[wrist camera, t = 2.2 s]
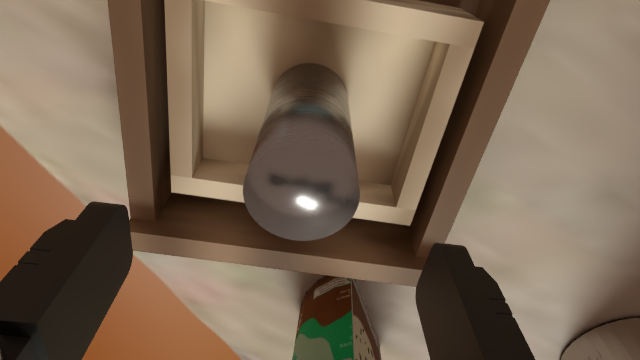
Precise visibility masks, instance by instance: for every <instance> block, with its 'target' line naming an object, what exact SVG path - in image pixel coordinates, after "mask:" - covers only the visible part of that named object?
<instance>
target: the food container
mask: <svg viewBox="0 0 640 360" xmlns="http://www.w3.org/2000/svg"><path fill="white" fill-rule="evenodd" d="M292 360H381V354H380V347H379V345H378V342H377V339H376V336H375V334H374V331H373V328H372V325H371V323H370V320H369V317H368V314H367V312H366V309H365V306H364V303H363V301H362V298H361V295H360V292H359V290H358V287H357V284H356V281H355V279H351V278H344V277H336V276H328V275H327V276H325V277H323V278H322V279H320V280H318V281H317V282H316V283H315V284H314V285H313V286H312V287H311V288H310V289H309V290H308V291H307V292H306V294H305V297H304V299H303V302H302V304H301V308H300V314H299V321H298V327H297V333H296V340H295V346H294V352H293V359H292Z"/></svg>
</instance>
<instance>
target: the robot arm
mask: <svg viewBox="0 0 640 360" xmlns="http://www.w3.org/2000/svg"><path fill="white" fill-rule="evenodd" d="M132 257H133V248H132V240H131V232H130V224H129V216H128V210H127V208H126V206H125V205H119V204H111V203H102V202H91V203H89V204H88V205H87V206H86V208H85V209H84V210H83V211H82V213H81V214H80V215H79V216H78V217H77V219H76V220H68V219H65V220H64V221H62V222H60V223H59V224H57V225H55V226H54V227H52V228H50V229H49V230H47V231H45V232H44V233H43V234H42V236H41V237H40V238H39V239H38V240H37V241H36V242H35V243H34V244H33V246H32V247H31V248H30V251H29V252H26V254H25V255H24V256H23V257H22V258H21V259H20V260H19V261H18V265H15V266H14V267H13V268H12V269H11V270H10V271H9V273H8V274H7V275H6V276H5V277H4V278H3V279H2V281H1V282H0V360H82V358H83V356H84V354H85V352H86V350H87V349H88V346H89V345H90V343H91V341H92V339H93V338H94V336H95V334H96V332H97V330H98V328H99V327H100V324H101V323H102V321H103V319H104V317H105V315H106V314H107V312H108V310H109V308H110V306H111V304H112V302H113V301H114V299H115V297H116V295H117V293H118V291H119V289H120V288H121V286H122V284H123V282H124V280H125V278H126V277H127V275H128V272H129V270H130V267H131V263H132ZM416 305H417V309H418V313H419V317H420V321H421V325H422V329H423V332H424V336H425V340H426V344H427V348H428V352H429V356H430V360H535V358H534V356H533V354H532V352H531V350H530V348H529V346H528V344H527V342H526V340H525V338H524V336H523V334H522V332H521V330H520V328H519V326H518V324H517V322H516V320H515V318H513V317H512V312H511V310H510V308H509V306H508V304H507V303H505V298H504V296H503V294H502V292H501V290H500V288H499V286H498V284H497V282H496V281H495V280H494V279H493V278H492V277H491V276H490V275H489V274H488V273H487V272H486V271H485V270H484V269H483V268H482V267H475V266H474V264H473V261H472V259H471V257H470V255H469V253H468V251H467V249H466V248H465V247H464V246H461V245H452V244H443V243H435V244H434V245H433V246H432V248H431V250H430V252H429V255H428V257H427V260H426V262H425V265H424V268H423V270H422V273H421V275H420V278H419V280H418V283H417V287H416ZM561 360H640V318H631V319H624V320H619V321H615V322H611V323H608V324H605V325H602V326H600V327H597V328H595V329H593V330H591V331H589V332H587V333H585V334H583V335H582V336H581V337H579V338H578V339H576V340H575V341H574V342H573V343H572V344H571V345H570V346H569V347H568V348H567V349H566V350H565V352H564V354H563V355H562V357H561Z"/></svg>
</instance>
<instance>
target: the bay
mask: <svg viewBox="0 0 640 360" xmlns="http://www.w3.org/2000/svg"><path fill="white" fill-rule="evenodd" d="M419 1H425V2H430V3H436V4H441V5H446V6H452V7H457V8H462V9H464V10H465V11H467V12H468V13H470V14H472V15H473V16H475V17H477V18H478V19H480V20H482V21H483V22H484V24H483V26H482V29H481V32H480V35H479V37H478V40H477V43H476V46H475V48H474V51H473V54H472V57H471V59H470V62H469V65H468V68H467V70H466V73H465V76H464V79H463V81H462V84H461V87H460V90H459V92H458V95H457V98H456V101H455V104H454V106H453V109H452V112H451V115H450V117H449V120H448V123H447V126H446V128H445V131H444V134H443V137H442V139H441V142H440V145H439V148H438V150H437V153H436V156H435V159H434V161H433V164H432V167H431V170H430V172H429V175H428V178H427V181H426V183H425V186H424V189H423V192H422V194H421V197H420V200H419V203H418V205H417V208H416V211H415V214H414V216H413V219H412V222H411V225H410V226H408V225H401V224H394V223H387V222H379V221H372V220H365V219H358V218H352V219H351V220H350V221H349V222H348V223H347V224H346V225H345V226H344V227H343V228H342V229H340V230H339V231H337V232H336V233H334V234H332V235H330V236H327V237H324V238H321V239H317V240H310V241H297V240H290V239H285V238H282V237H279V236H277V235H274V234H272V233H270V232H268V231H267V230H265V229H264V228H263V227H261V226H260V225H259V224H258V223H257V222H256V221H255V220H254V219H253V218H252V216H251V215H250V213H249V212H248V210H247V208H246V205H245V203H244V202H237V201H230V200H223V199H216V198H208V197H201V196H194V195H187V194H180V193H173V192H171V168H170V141H169V113H168V86H167V59H166V31H165V4H164V0H108V7H109V17H110V26H111V35H112V45H113V54H114V64H115V73H116V83H117V92H118V102H119V111H120V121H121V130H122V140H123V149H124V159H125V168H126V178H127V187H128V197H129V206H130V216H131V219H130V220H129V224H130V232H131V240H132V248H133V251H141V252H149V253H157V254H164V255H172V256H180V257H188V258H196V259H203V260H211V261H219V262H227V263H235V264H242V265H250V266H258V267H266V268H274V269H281V270H289V271H297V272H305V273H312V274H320V275H328V276H336V277H344V278H351V279H359V280H367V281H375V282H383V283H390V284H398V285H406V286H414V287H417V283H418V280H419V278H420V275H421V273H422V270H423V268H424V265H425V262H426V260H427V257H428V255H429V252H430V250H431V248H432V246H433V245H434V244H435V243H443V244H444V243H445V241H446V239H447V236H448V234H449V232H450V230H451V227H452V225H453V223H454V220H455V218H456V216H457V213H458V211H459V209H460V207H461V204H462V202H463V200H464V197H465V195H466V193H467V190H468V188H469V186H470V184H471V181H472V179H473V177H474V174H475V172H476V170H477V167H478V165H479V163H480V161H481V158H482V156H483V154H484V151H485V149H486V147H487V144H488V142H489V140H490V137H491V135H492V133H493V131H494V128H495V126H496V124H497V121H498V119H499V117H500V114H501V112H502V110H503V108H504V105H505V103H506V101H507V98H508V96H509V94H510V91H511V89H512V87H513V85H514V82H515V80H516V78H517V75H518V73H519V71H520V68H521V66H522V64H523V61H524V59H525V57H526V55H527V52H528V50H529V48H530V45H531V43H532V41H533V38H534V36H535V34H536V32H537V29H538V27H539V25H540V22H541V20H542V18H543V15H544V13H545V11H546V9H547V6H548V4H549V2H550V0H419Z"/></svg>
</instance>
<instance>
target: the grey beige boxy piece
mask: <svg viewBox="0 0 640 360" xmlns="http://www.w3.org/2000/svg"><path fill="white" fill-rule="evenodd" d="M164 4H165V31H166V59H167V86H168V113H169V141H170V168H171V192H173V193H180V194H187V195H194V196H201V197H208V198H216V199H223V200H230V201H237V202H244V203H245V205H246V208H247V210H248V212H249V213H250V215H251V216H252V218H253V219H254V220H255V221H256V222H257V223H258V224H259V225H260V226H261V227H263V228H264V229H265V230H267V231H268V232H270V233H272V234H274V235H277V236H279V237H282V238H285V239H290V240H297V241H310V240H317V239H321V238H324V237H327V236H330V235H332V234H334V233H336V232H337V231H339V230H340V229H342V228H343V227H344V226H345V225H346V224H347V223H348V222H349V221H350V220H351V219H352V218H358V219H365V220H372V221H379V222H387V223H394V224H401V225H408V226H410V225H411V222H412V219H413V216H414V214H415V211H416V208H417V205H418V203H419V200H420V197H421V194H422V192H423V189H424V186H425V183H426V181H427V178H428V175H429V172H430V170H431V167H432V164H433V161H434V159H435V156H436V153H437V150H438V148H439V145H440V142H441V139H442V137H443V134H444V131H445V128H446V126H447V123H448V120H449V117H450V115H451V112H452V109H453V106H454V104H455V101H456V98H457V95H458V92H459V90H460V87H461V84H462V81H463V79H464V76H465V73H466V70H467V68H468V65H469V62H470V59H471V57H472V54H473V51H474V48H475V46H476V43H477V40H478V37H479V35H480V32H481V29H482V26H483V24H484V22H483V21H482V20H480V19H478V18H477V17H475V16H473V15H472V14H470V13H468V12H467V11H465V10H464V9H462V8H457V7H452V6H446V5H441V4H436V3H430V2H425V1H419V0H164Z"/></svg>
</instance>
